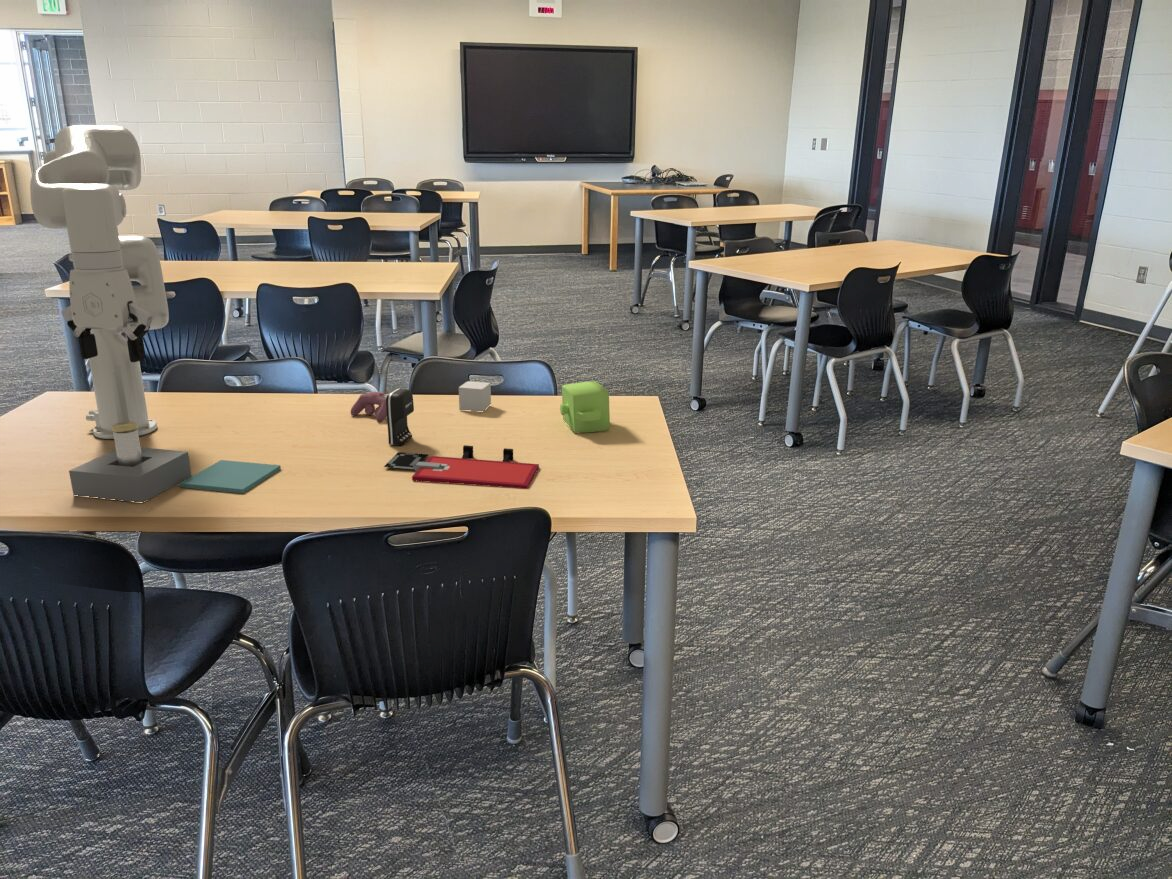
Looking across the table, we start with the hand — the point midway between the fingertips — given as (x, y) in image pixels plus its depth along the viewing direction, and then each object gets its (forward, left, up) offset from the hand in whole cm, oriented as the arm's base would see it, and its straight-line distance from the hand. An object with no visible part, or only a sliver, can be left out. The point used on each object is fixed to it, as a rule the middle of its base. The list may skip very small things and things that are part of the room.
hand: (114, 359), depth 154 cm
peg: (0, 0, -24) cm, 24 cm away
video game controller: (+24, +52, -25) cm, 62 cm away
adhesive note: (+45, +64, -25) cm, 82 cm away
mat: (+15, +8, -24) cm, 30 cm away
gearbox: (+73, +57, -25) cm, 96 cm away
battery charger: (+38, +36, -25) cm, 58 cm away
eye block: (0, 0, -24) cm, 24 cm away
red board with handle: (+56, +23, -25) cm, 65 cm away
